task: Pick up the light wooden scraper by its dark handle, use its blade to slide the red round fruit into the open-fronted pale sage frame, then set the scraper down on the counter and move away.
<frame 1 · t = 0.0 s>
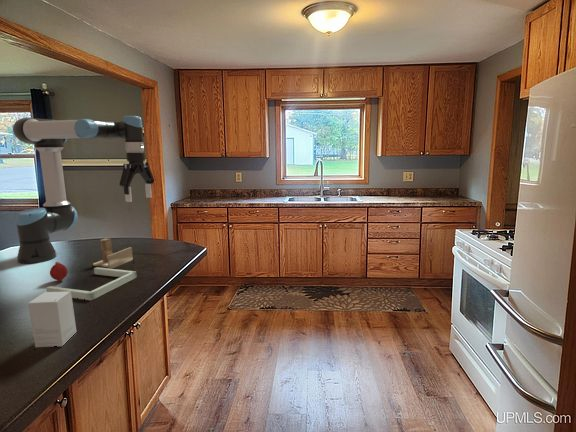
hand: (139, 199, 164), 28 cm above the countertop, tool pointing down, fingers open, 13 cm apart
sage frame: (95, 285, 137), on the countertop
wooden scraper: (120, 264, 162), on the countertop
red round fruit: (60, 281, 142), on the countertop
supplement box: (56, 340, 98), on the countertop
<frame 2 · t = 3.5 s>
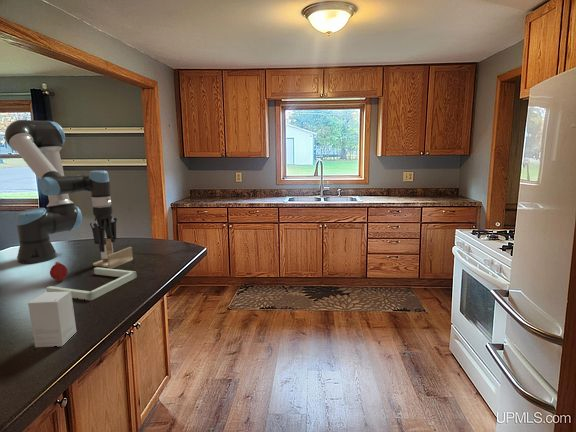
hand: (107, 257, 164), 3 cm above the countertop, tool pointing down, fingers closed on wooden scraper, 3 cm apart
wooden scraper: (121, 264, 162), on the countertop, touching gripper
everything else where it was.
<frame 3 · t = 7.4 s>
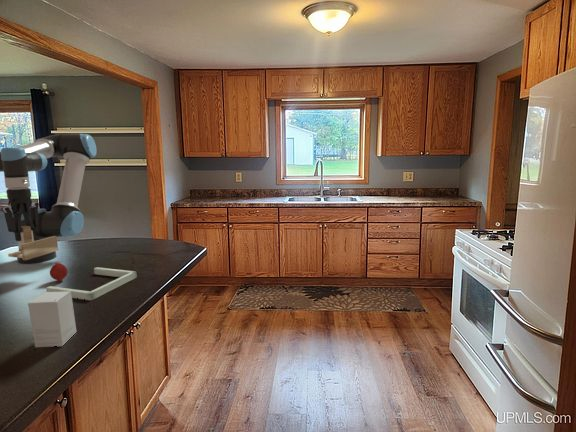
hand: (26, 247, 143), 13 cm above the countertop, tool pointing down, fingers closed on wooden scraper, 3 cm apart
wooden scraper: (41, 255, 142), point 10 cm above the countertop, touching gripper
everything else where it was.
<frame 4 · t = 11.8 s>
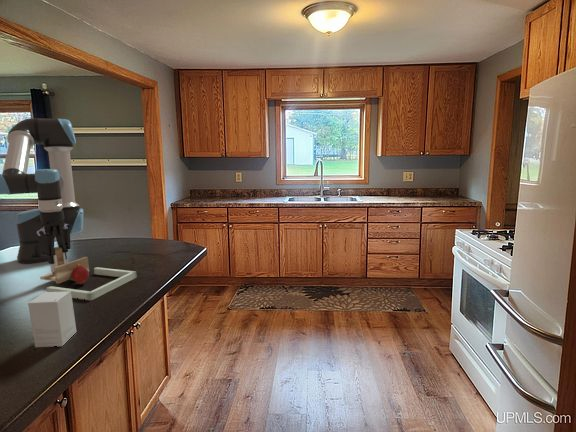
hand: (59, 269, 141), 5 cm above the countertop, tool pointing down, fingers closed on wooden scraper, 3 cm apart
wooden scraper: (73, 277, 139), point 2 cm above the countertop, touching gripper, red round fruit
red round fruit: (81, 284, 139), on the countertop, touching wooden scraper
everything else where it was.
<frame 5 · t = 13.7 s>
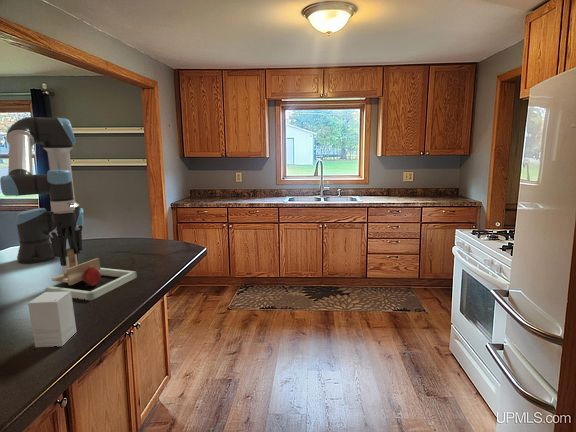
hand: (70, 271, 139), 5 cm above the countertop, tool pointing down, fingers closed on wooden scraper, 3 cm apart
wooden scraper: (85, 278, 138), point 2 cm above the countertop, touching gripper, red round fruit
red round fruit: (93, 286, 137), on the countertop, touching wooden scraper
everything else where it was.
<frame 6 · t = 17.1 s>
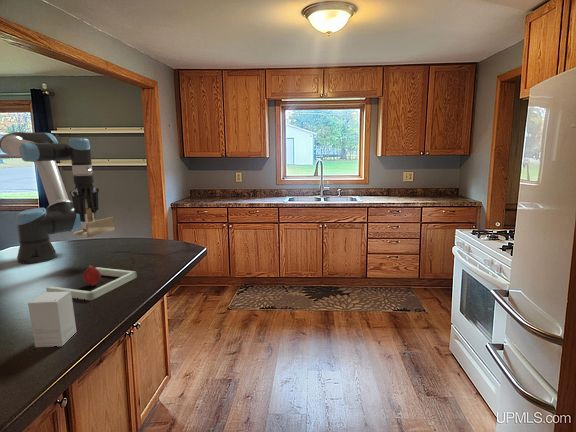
hand: (88, 227, 161), 16 cm above the countertop, tool pointing down, fingers closed on wooden scraper, 3 cm apart
wooden scraper: (101, 233, 159), point 14 cm above the countertop, touching gripper
red round fruit: (93, 286, 137), on the countertop
everything else where it was.
when the fingers open (4 cm above the countertop, at t = 20.0 s): wooden scraper drops 2 cm, on the countertop.
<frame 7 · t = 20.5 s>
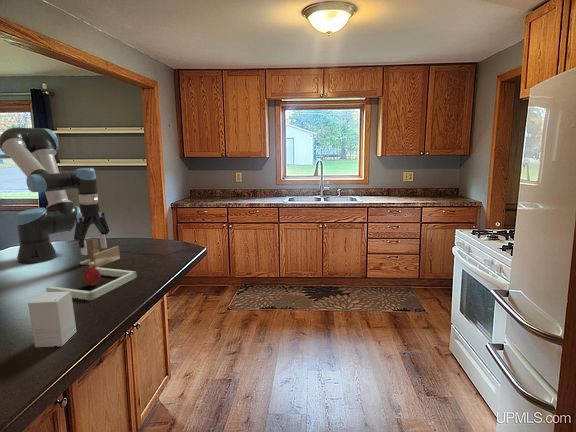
hand: (94, 251, 165), 5 cm above the countertop, tool pointing down, fingers open, 10 cm apart
wooden scraper: (107, 262, 164), on the countertop
everything else where it was.
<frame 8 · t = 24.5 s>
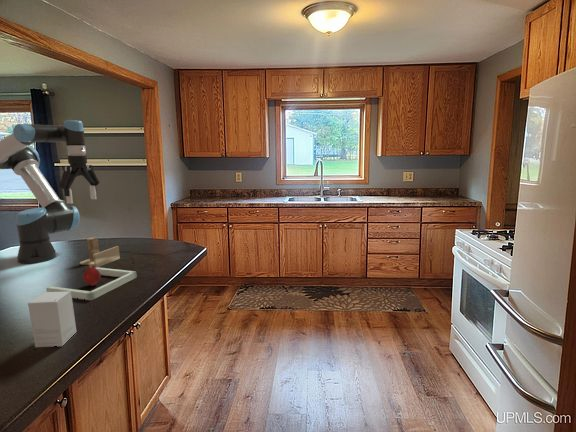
hand: (82, 201, 170), 27 cm above the countertop, tool pointing down, fingers open, 13 cm apart
nothing on the countertop moved.
at the end: red round fruit inside the target area on the sage frame (0.3 cm from its centre), point 0.0 cm above the sage frame's base; the gripper is holding nothing; wooden scraper tilted 0° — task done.
